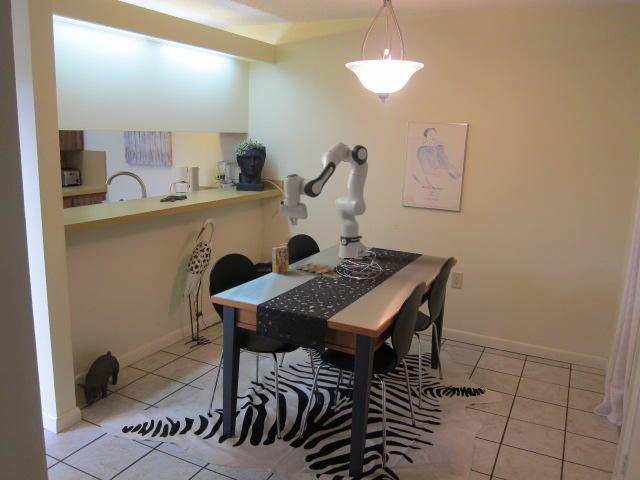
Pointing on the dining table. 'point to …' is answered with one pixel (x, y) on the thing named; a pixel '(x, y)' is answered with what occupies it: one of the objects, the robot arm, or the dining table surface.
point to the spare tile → (317, 268)
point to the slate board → (306, 272)
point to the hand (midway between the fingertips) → (293, 225)
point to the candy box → (280, 259)
